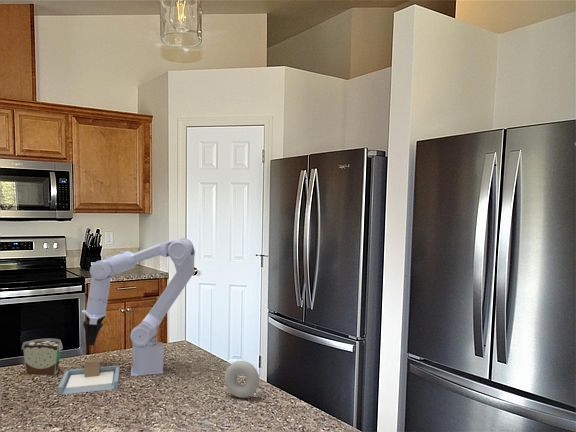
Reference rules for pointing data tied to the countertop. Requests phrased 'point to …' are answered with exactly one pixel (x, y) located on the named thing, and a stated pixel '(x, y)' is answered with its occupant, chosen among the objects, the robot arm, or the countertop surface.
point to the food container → (42, 356)
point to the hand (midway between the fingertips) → (91, 340)
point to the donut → (250, 374)
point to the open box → (81, 371)
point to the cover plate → (91, 377)
